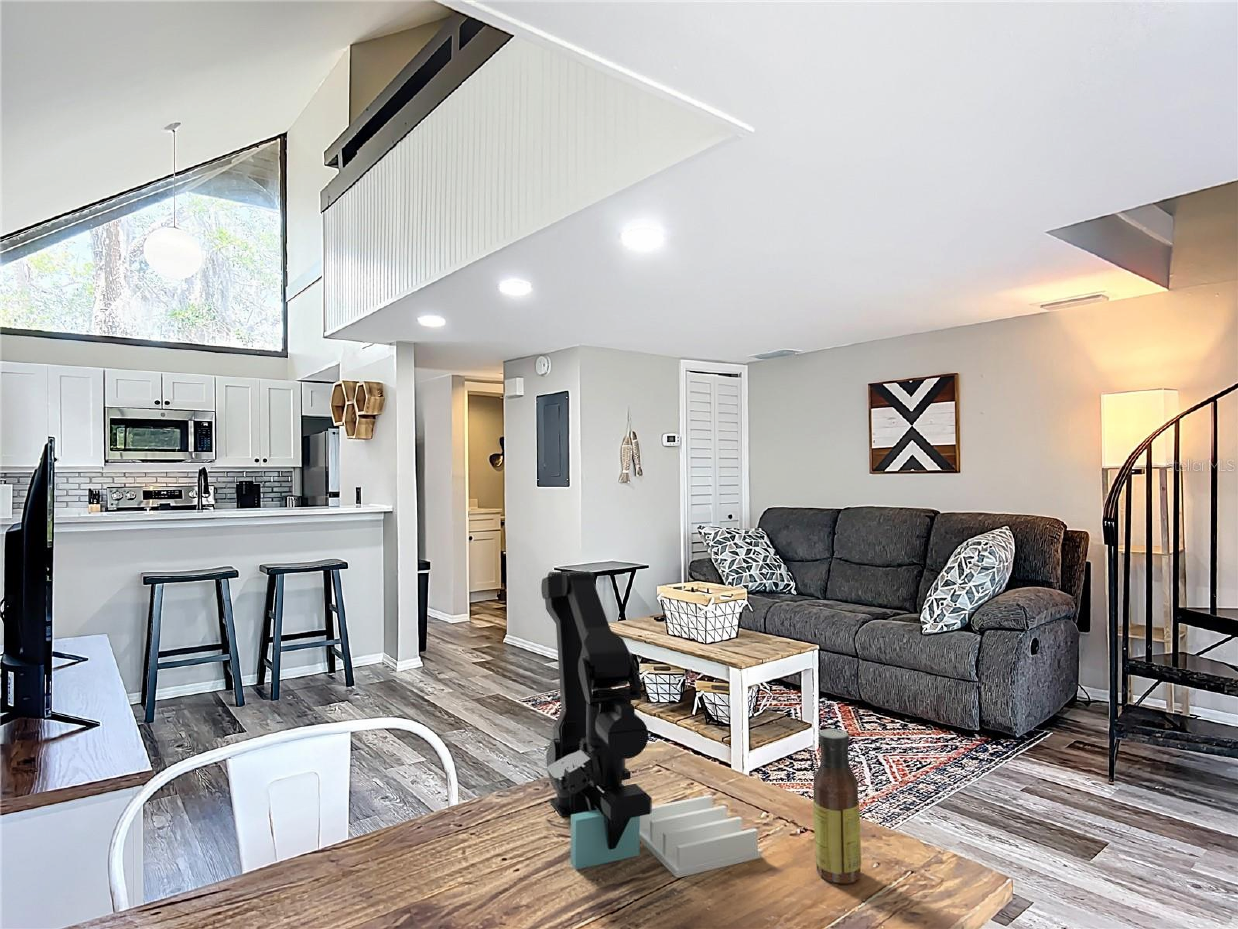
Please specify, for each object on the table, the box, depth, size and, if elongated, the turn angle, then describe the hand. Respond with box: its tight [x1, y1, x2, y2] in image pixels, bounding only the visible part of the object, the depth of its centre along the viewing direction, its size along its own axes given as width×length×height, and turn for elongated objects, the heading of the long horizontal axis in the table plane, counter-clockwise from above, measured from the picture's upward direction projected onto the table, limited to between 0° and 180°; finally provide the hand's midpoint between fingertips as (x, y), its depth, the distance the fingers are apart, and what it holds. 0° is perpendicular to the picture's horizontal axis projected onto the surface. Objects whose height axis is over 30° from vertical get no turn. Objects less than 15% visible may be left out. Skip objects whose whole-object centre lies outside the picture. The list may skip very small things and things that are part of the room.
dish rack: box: [639, 794, 762, 879], centre depth 116 cm, size 14×14×4 cm
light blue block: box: [570, 810, 640, 871], centre depth 112 cm, size 2×10×7 cm, turn 115°
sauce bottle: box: [812, 728, 862, 885], centre depth 108 cm, size 6×6×20 cm
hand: (605, 841), depth 112 cm, fingers open, 4 cm apart
